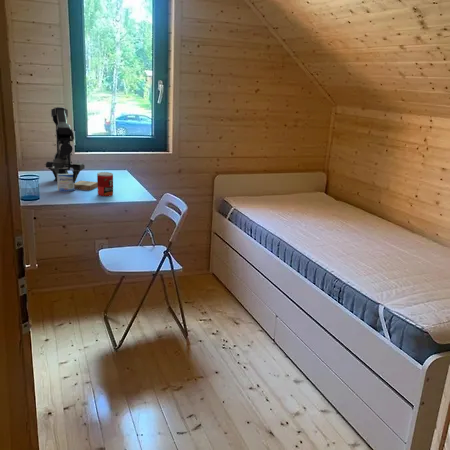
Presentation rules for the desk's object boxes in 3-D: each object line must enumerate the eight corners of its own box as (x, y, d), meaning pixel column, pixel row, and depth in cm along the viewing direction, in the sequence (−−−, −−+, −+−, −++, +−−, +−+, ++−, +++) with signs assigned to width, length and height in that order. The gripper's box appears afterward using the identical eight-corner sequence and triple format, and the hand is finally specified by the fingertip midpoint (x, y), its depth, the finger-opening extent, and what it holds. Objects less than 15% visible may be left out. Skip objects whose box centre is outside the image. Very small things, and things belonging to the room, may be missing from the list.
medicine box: (58, 191, 245) (58, 175, 242) (57, 189, 248) (56, 173, 246) (74, 191, 248) (74, 174, 246) (73, 189, 252) (72, 173, 250)
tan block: (72, 189, 253) (72, 184, 252) (80, 185, 262) (80, 180, 262) (90, 191, 252) (90, 185, 251) (98, 187, 261) (97, 182, 260)
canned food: (105, 197, 239) (105, 175, 236) (94, 194, 243) (93, 173, 240) (116, 194, 245) (116, 173, 242) (105, 192, 249) (105, 171, 246)
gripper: (39, 152, 236) (40, 183, 241) (74, 155, 234) (75, 186, 238) (50, 149, 247) (51, 179, 251) (84, 152, 244) (85, 182, 249)
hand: (65, 181), depth 247 cm, fingers open, 9 cm apart
